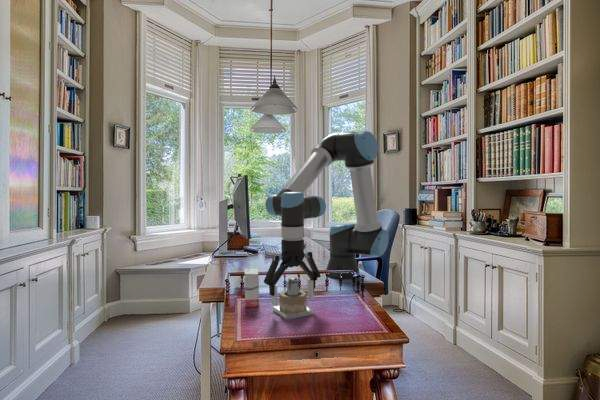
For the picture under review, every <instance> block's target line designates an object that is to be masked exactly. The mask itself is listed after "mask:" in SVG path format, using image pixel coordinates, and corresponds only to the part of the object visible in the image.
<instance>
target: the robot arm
mask: <svg viewBox="0 0 600 400" xmlns="http://www.w3.org/2000/svg"><path fill="white" fill-rule="evenodd" d="M378 151H379V146H378V141H377V138H376V137H375V135H374V134H373V133H372V132H371V131H369V130H351V131H350V130H349V131H339V132H334V133H331V134H328V135H327V136H326V137H325V138H323V139H322V140H320V141H318V143H317V144H316V145H315V146H314V147H313V148H312V149H311V151H310V156H309V157H308V158H307V159H306V160H305V162H303V164H302V165H301V166H300V167H299V168H298V170H297V171H296V172H295V173H294V175H292V177H291V178H290V179H289V181H288V182H286V184H285V185H284V187H282V188H281V190H280V191H279V192H278V194H270V195H269V196H267V197H266V199H265V203H264V204H265V205H264V207H265V211H266V212H267V213H268V214H269V215H273V216H277V217H280V216H281V218H280V219H281V223H280V224H281V227H280V228H281V229H280V231H281V232H280V233H281V234H280V235H281V238H282V239H281V241H280V243H281V245H280V247H281V254H280V255H279V254H276V253H274V254H273V255H272V259H271V260H272V261H271V262H270V265H269V268H268V270H267V272H266V275H265V278H264V280H263V284H265V285H267V286H268V287H269V292H268V294H269V295H270V296H271V305H273V306H279V305H278V302H279V301H278V300H279V299H278V285H276V284H278V282H279V280H280V279H281V277H282V276H283V274H284V273H285V271H286V270H288V268H293V267H295V268H298V267H300V268H301V269H302V271H303V272H304V273H305V274H306V276H307V277H308V278H307V299H309V300H311V301H312V300H314V290H315V289H316V281H318V279H319V278H320V277H321V276H322V275H321V273H320V271H319V269H318V266H317V265H316V262H315V260H314V258H313V252H312V251H309V250H305V240H304V238H305V220H307V219H313V218H314V219H316V218H319V217H321V216H323V215H324V214H325V212H326V211H327V204H326V201H325V199H324V198H323V197H322V196H319V195H311V196H306V195H305V193H306V192H307V190H308V189H309V188H310V187H311V186H312V184H313V183H314V182H315V180H316V179H317V178H318V177H319V176H320V175H321V173H322V172H323V170H324V169H325V168H326V167H329V166H331V164H332V163H333V162H337V161H344V164H345V165H344V166H345V168H346V169H348V170H349V173H350V181H351V188H352V194H353V195H352V196H353V202H354V203H353V204H354V210H355V215H356V223H352V222H351V223H350V222H349V223H340V224H334V225H333V224H332V225H331V226H330V228H329V260H328V262H327V264H326V265H327V266H326V268H325V271H326V270H353V271H354V272H356V273H357V274H359V275H360V269H359V265H358V261H357V258H356V257H357V256H356V254H357V255H362V256H363V255H364V256H368V257H369V256H370V257H381V256H383V255H384V254H385V252H386V251H387V248H388V244H389V239H390V237H389V236H390V235H389V232H388V231H387V230H386V229H384V228H383V224H382V223H381V221H379V220H378V215H377V207H376V205H377V204H376V199H375V191H374V190H375V189H374V184H373V183H374V182H373V175H372V173H373V172H372V165H374V163H375V162H374V160H375V159H376V158H377V156H378V154H379V152H378ZM304 250H305V251H304ZM304 258H305V259H306V261H307V263H308V265H309V267H310V268H309V267H308V265H306V262H305V261H303V260H304ZM280 262H281V263H280ZM279 263H280V264H279ZM341 276H342V278H340V273H329V274H328V276H327V277H330V278H334V279H344V280H345V279H353V274H352V273H351V272H349V273H342V274H341Z"/></svg>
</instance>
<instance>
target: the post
mask: <svg viewBox="0 0 600 400" xmlns="http://www.w3.org/2000/svg"><path fill="white" fill-rule="evenodd" d="M299 290H300V281H299V280H298V278H297V277H289V278H288V279H287V281H286V291H287V296H299ZM272 311H273V312H274V313H275V314H277V315H278V316H280V317H282V318H283V319H285V321H287V320H292V319H297V318H302V317H303V318H304V317H308V316H313V315H315V314H314V313H315V312H314V309H313V308H310V307H308V306H307V308H306V309H305V310H304V311H301V312H296V313H292V312H284V311H282V310H281V309H280V305H278V306H274V305H273V306H272Z"/></svg>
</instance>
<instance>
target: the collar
mask: <svg viewBox="0 0 600 400" xmlns="http://www.w3.org/2000/svg"><path fill="white" fill-rule="evenodd" d="M278 300H279V301H278V302H279V305H280V309H281V310H282V311H284V312H292V313H296V312H301V311H304V310H305V309H306V308H307V307H308V306H307V304H308V303H307V301H308V292H305V291H303V290H300V289H299V296H287V290H282V291H281V292H280V293H279V299H278ZM279 305H278V306H279Z"/></svg>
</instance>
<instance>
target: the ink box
mask: <svg viewBox="0 0 600 400" xmlns="http://www.w3.org/2000/svg"><path fill="white" fill-rule="evenodd" d="M259 284H260V279H259V268H245V269H244V305H245V308H257V307H258V306H259V307H260V305H259V303H260V302H259V301H260V300H259V299H260V290H259V289H260V285H259Z"/></svg>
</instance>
